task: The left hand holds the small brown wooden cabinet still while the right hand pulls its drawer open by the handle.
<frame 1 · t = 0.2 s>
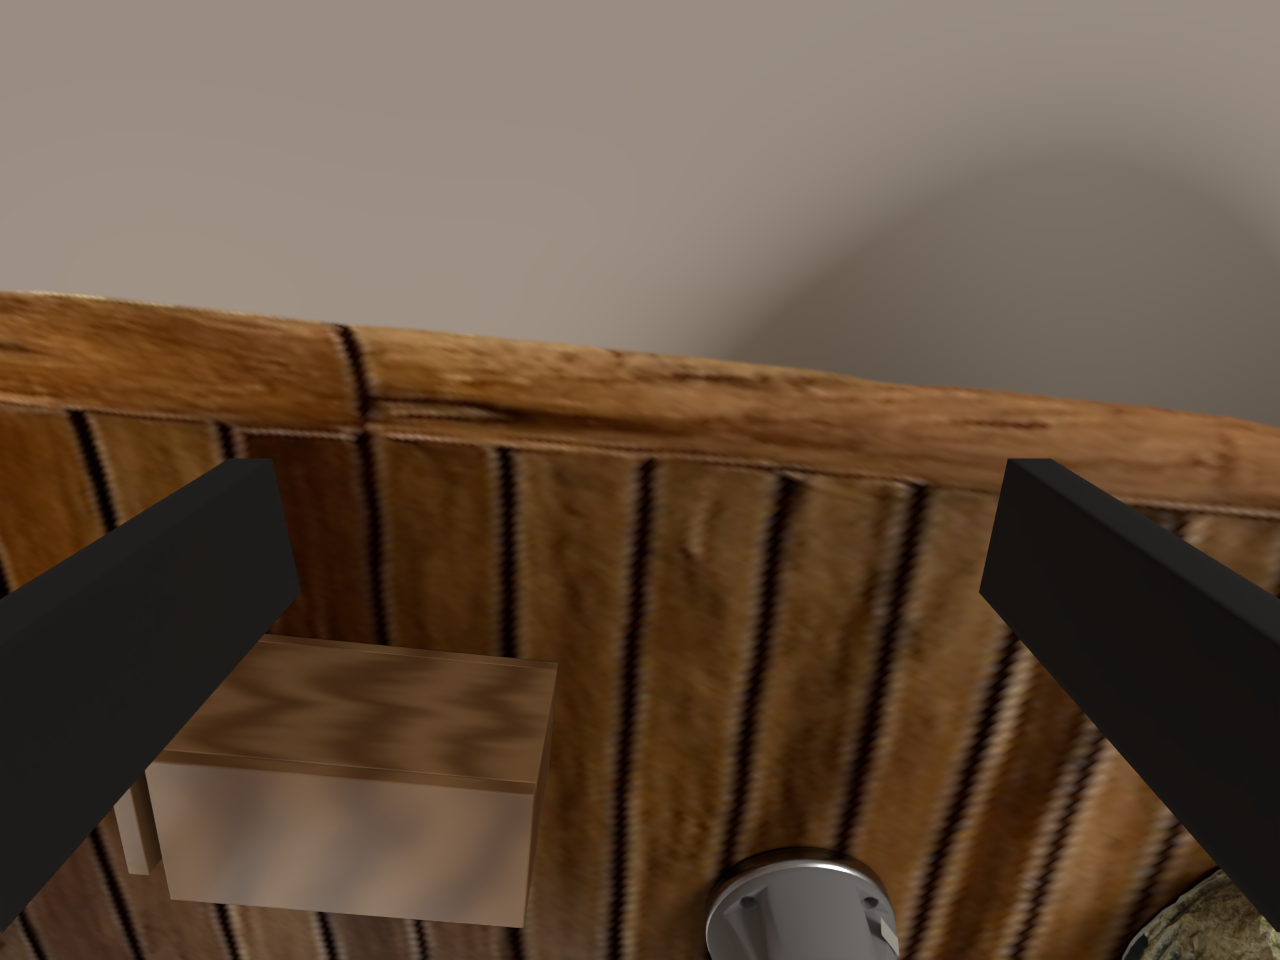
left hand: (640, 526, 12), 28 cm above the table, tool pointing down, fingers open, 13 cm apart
cabinet: (409, 708, 49), on the table
fossil: (1191, 920, 57), on the table
drawer: (276, 761, 43), point 6 cm above the table, slide at 1.7 cm
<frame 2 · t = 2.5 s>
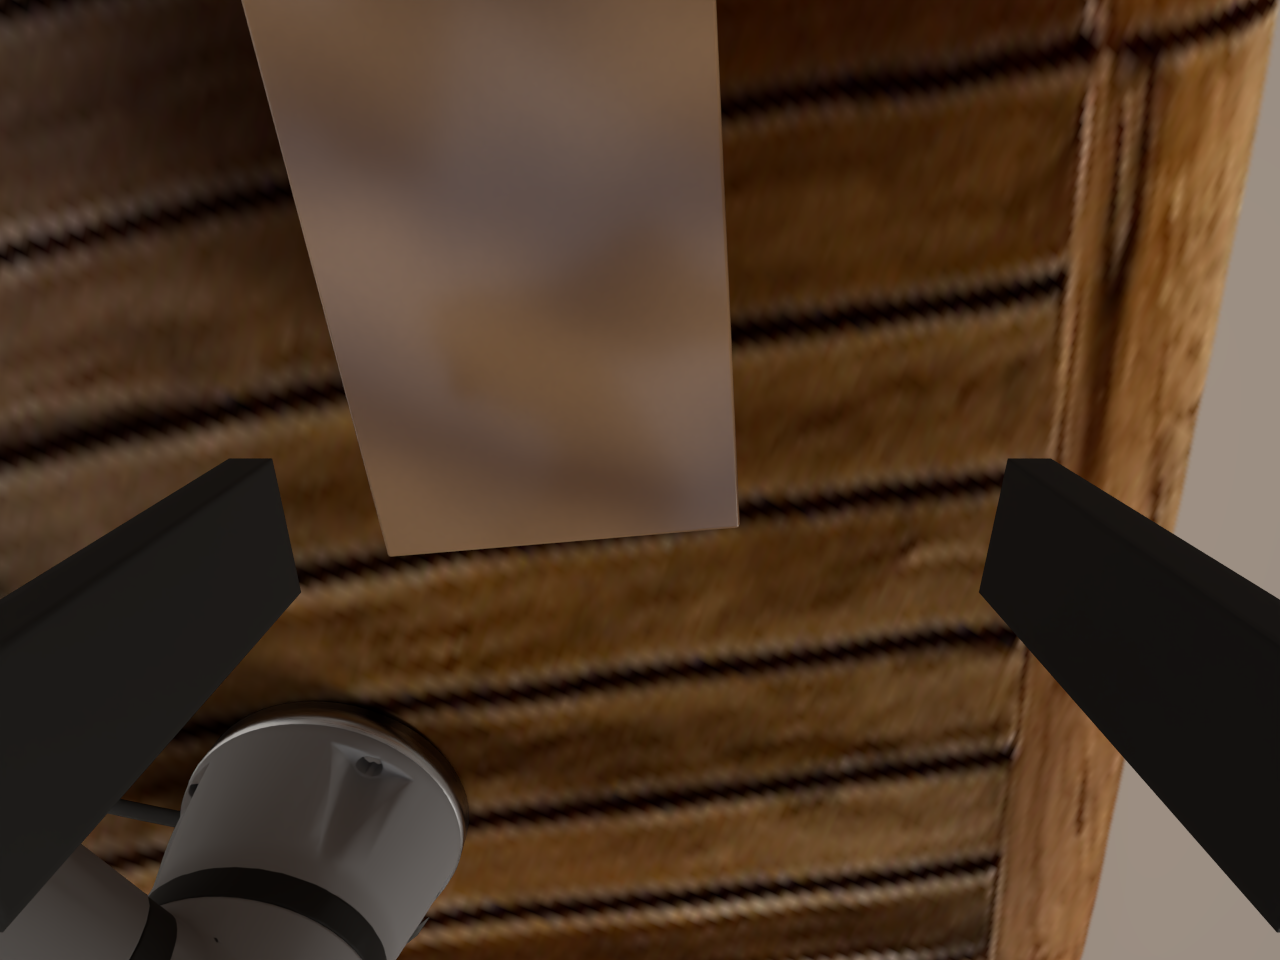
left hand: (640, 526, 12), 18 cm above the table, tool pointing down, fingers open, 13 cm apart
cabinet: (558, 180, 27), on the table
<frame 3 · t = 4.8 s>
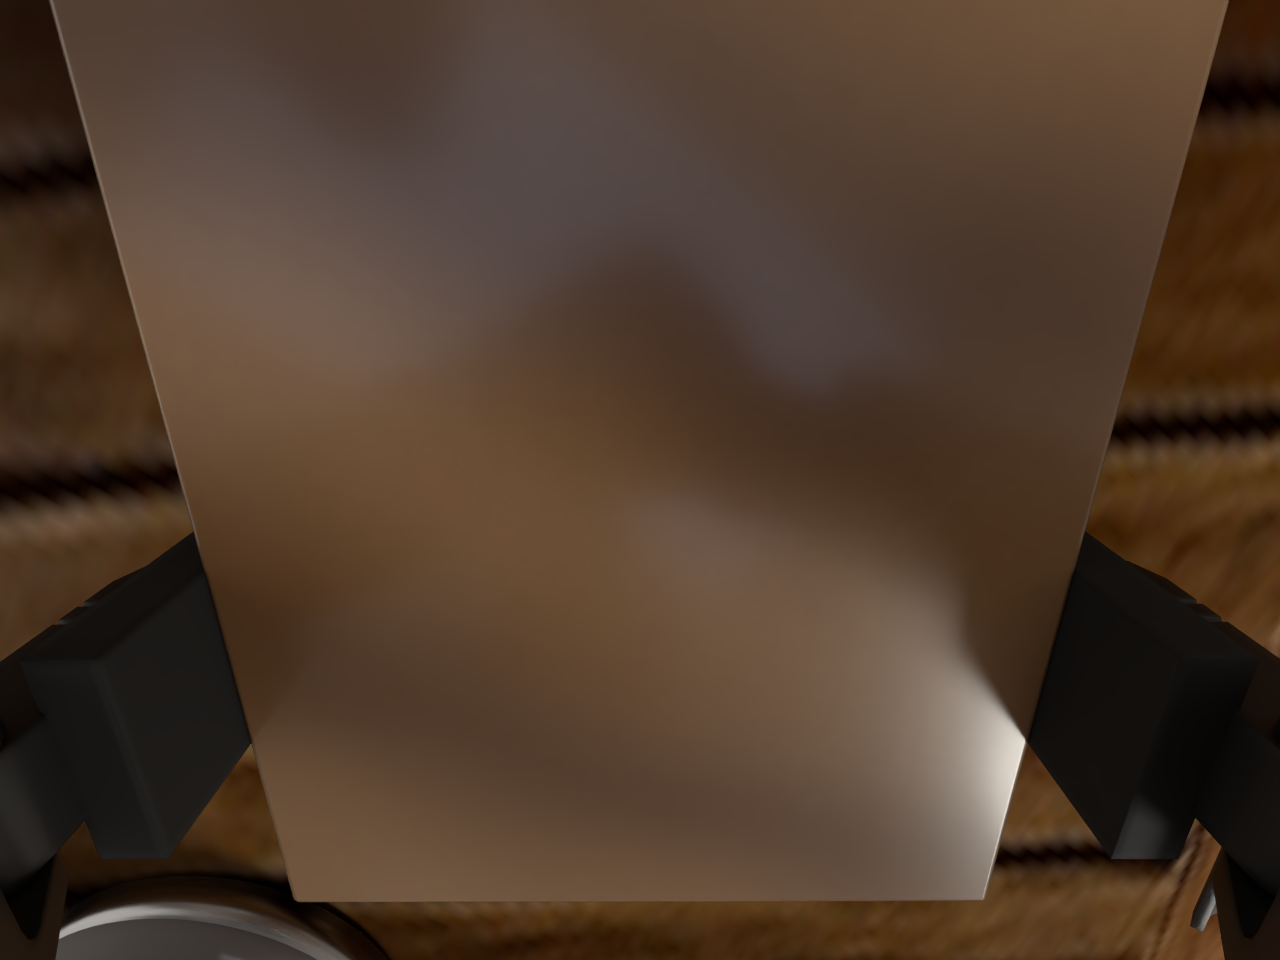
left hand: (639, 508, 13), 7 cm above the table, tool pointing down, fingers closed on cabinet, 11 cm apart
cabinet: (639, 189, 17), on the table, touching left hand
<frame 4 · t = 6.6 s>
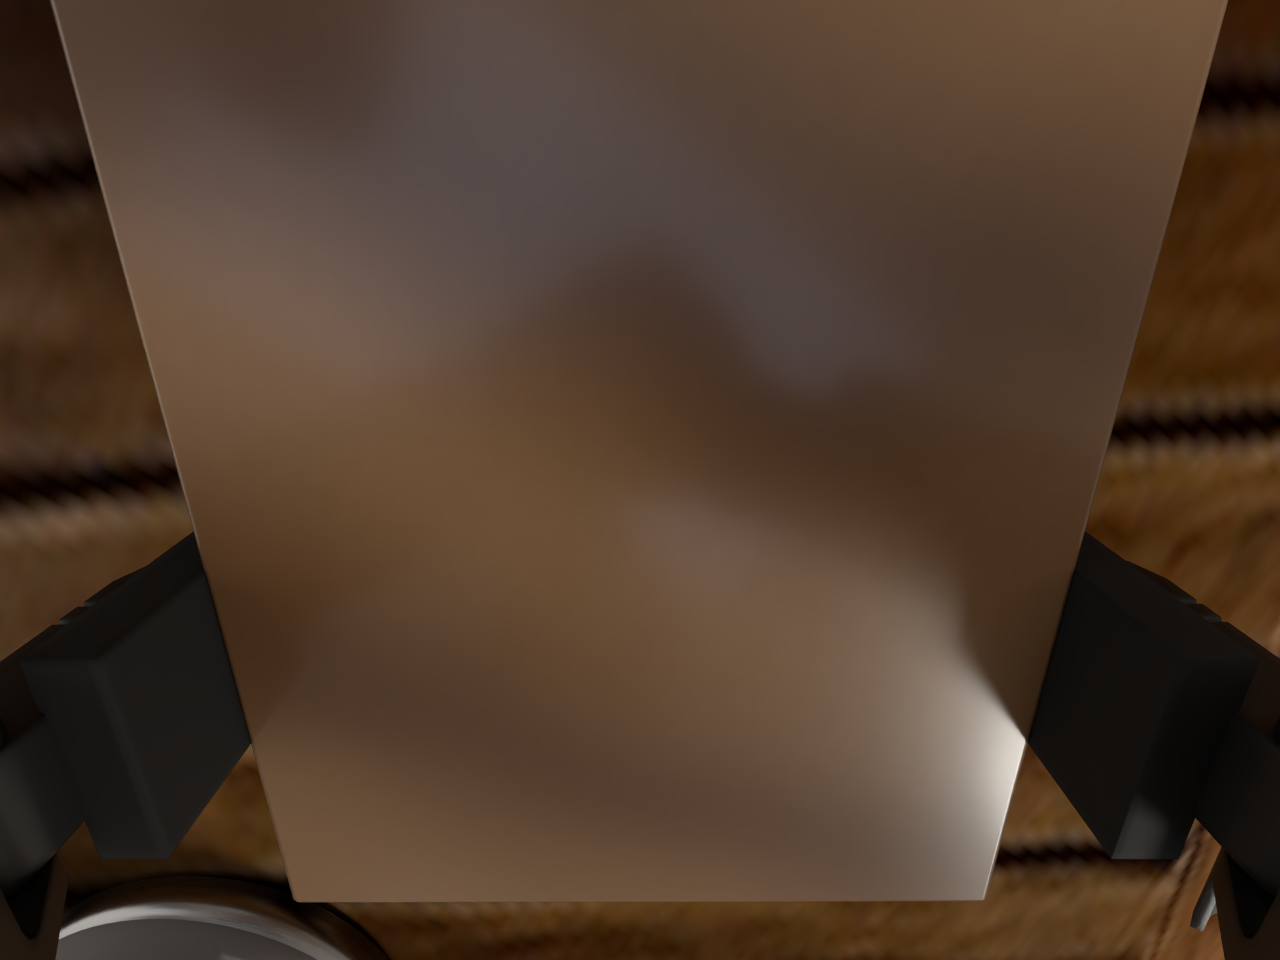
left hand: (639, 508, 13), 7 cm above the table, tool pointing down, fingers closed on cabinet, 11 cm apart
cabinet: (639, 189, 17), on the table, touching left hand
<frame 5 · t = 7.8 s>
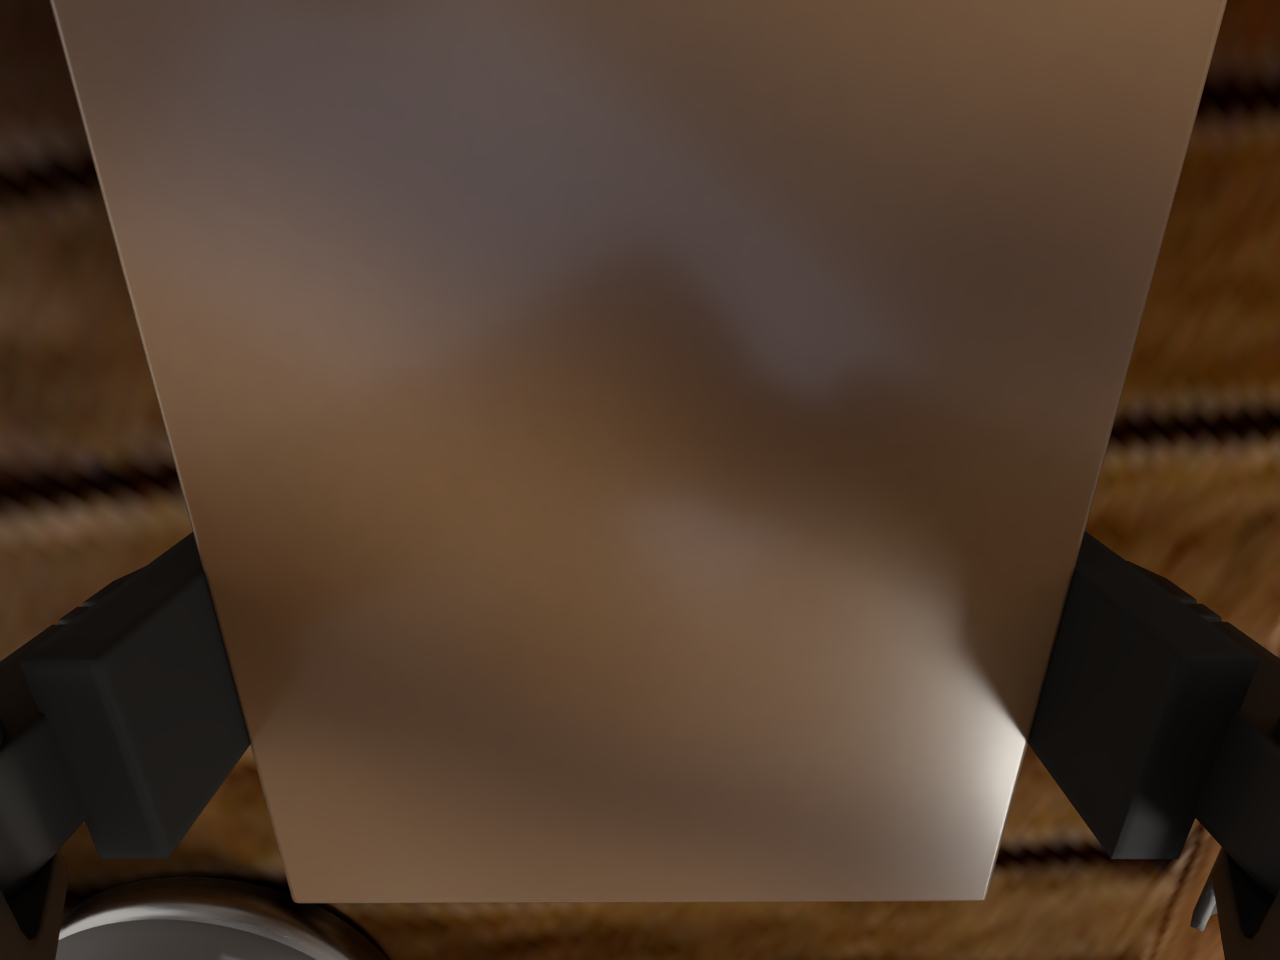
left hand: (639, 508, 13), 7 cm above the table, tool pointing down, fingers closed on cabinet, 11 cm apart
cabinet: (638, 190, 17), on the table, touching left hand
when the left hand's fingers open (7 cm above the table, at t = 9.8 s): cabinet stays where it is, on the table.
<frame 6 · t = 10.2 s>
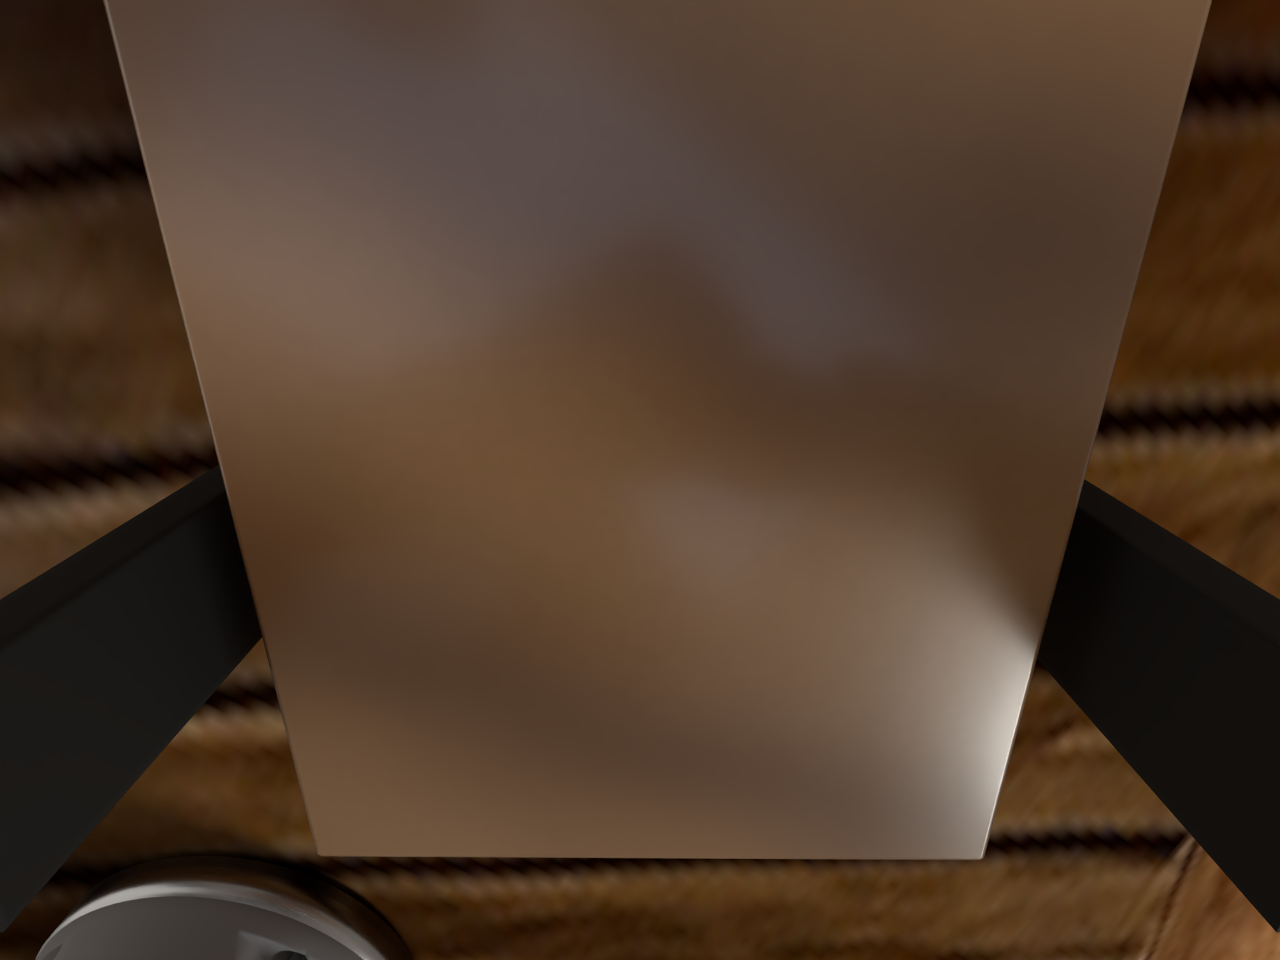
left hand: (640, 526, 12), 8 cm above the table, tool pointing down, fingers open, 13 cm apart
cabinet: (648, 175, 18), on the table
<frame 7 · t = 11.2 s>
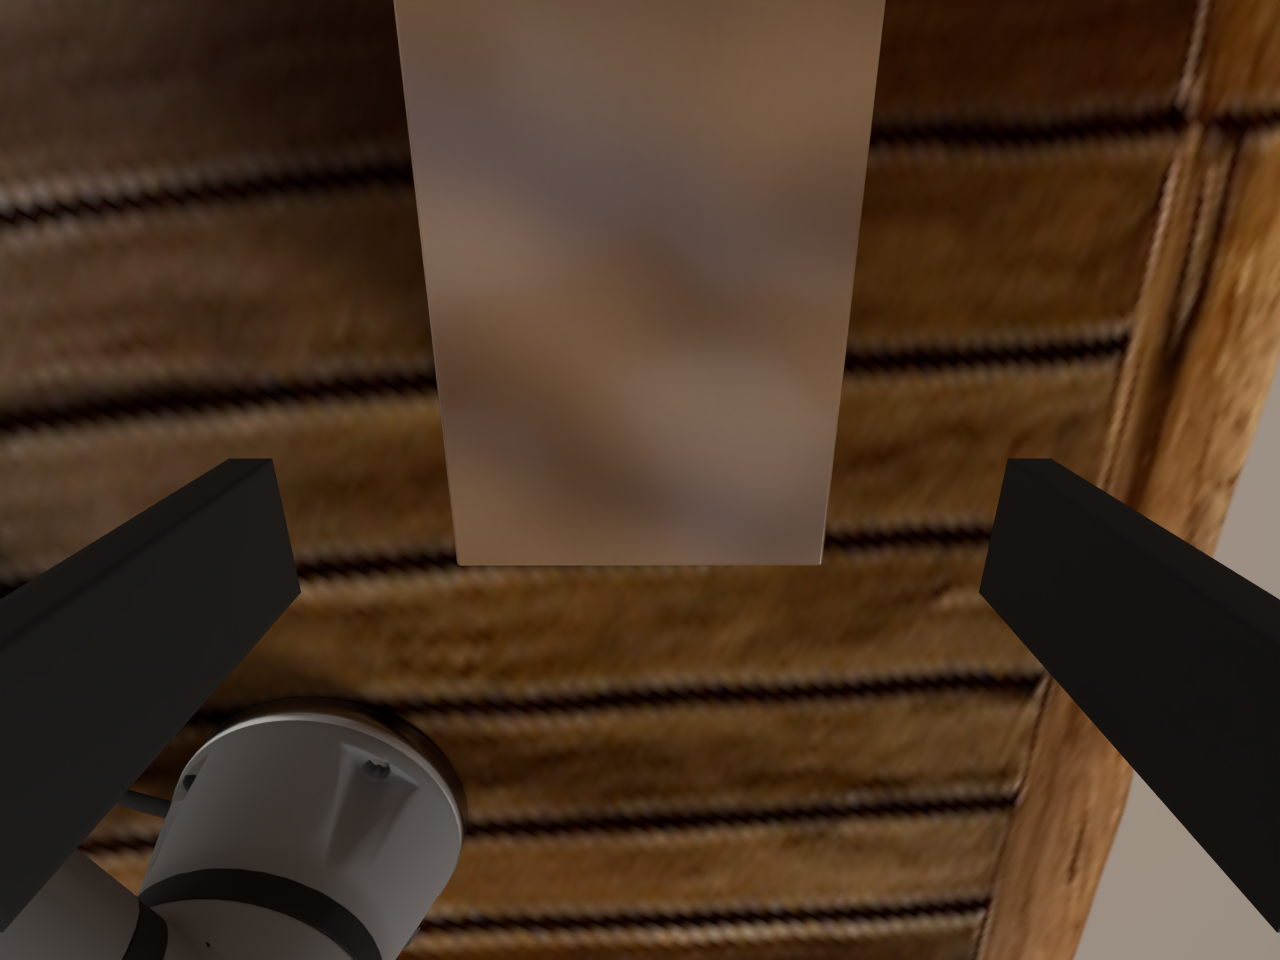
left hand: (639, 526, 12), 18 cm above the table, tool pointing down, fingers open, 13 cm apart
cabinet: (639, 189, 27), on the table
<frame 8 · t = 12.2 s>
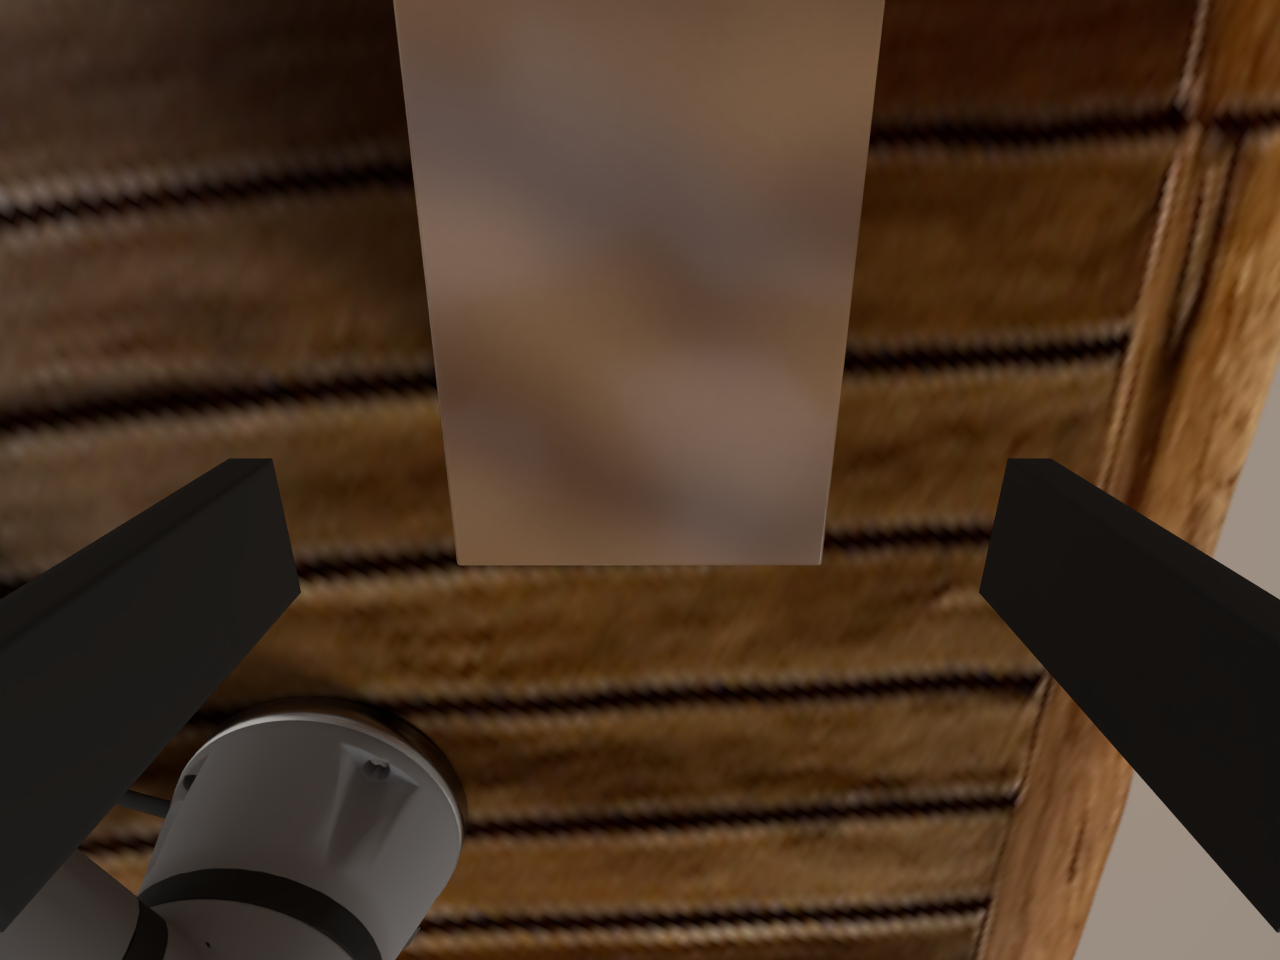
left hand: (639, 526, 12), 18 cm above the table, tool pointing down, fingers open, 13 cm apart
cabinet: (639, 189, 27), on the table
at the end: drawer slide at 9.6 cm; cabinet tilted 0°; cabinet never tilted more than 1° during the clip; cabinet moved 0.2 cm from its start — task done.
